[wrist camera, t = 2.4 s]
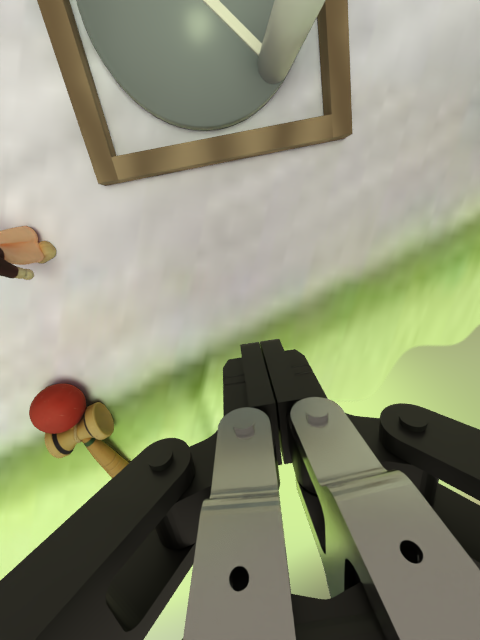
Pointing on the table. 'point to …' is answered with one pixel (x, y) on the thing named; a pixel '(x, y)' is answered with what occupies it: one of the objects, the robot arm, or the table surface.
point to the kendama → (75, 425)
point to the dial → (199, 53)
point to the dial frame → (210, 149)
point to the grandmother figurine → (22, 251)
